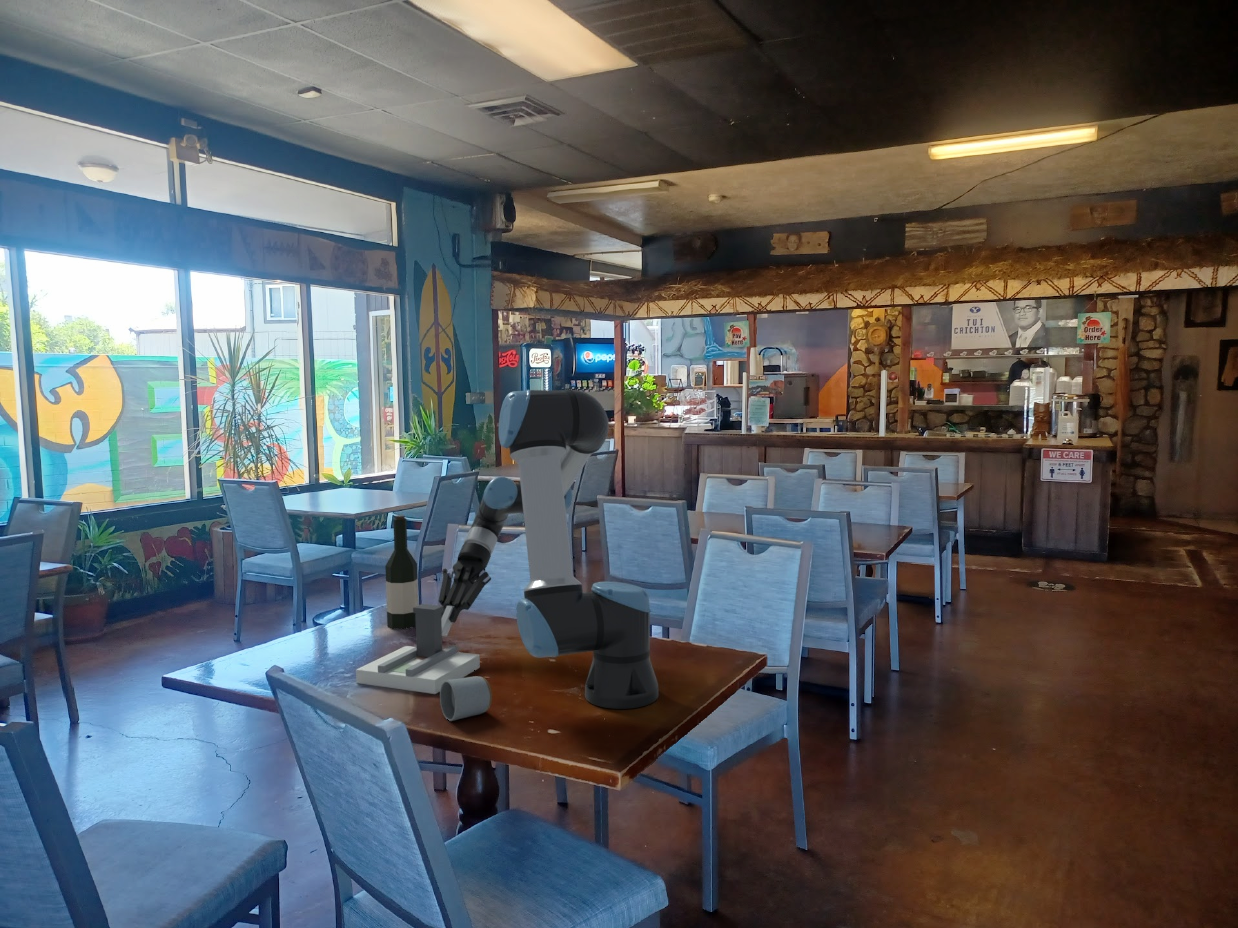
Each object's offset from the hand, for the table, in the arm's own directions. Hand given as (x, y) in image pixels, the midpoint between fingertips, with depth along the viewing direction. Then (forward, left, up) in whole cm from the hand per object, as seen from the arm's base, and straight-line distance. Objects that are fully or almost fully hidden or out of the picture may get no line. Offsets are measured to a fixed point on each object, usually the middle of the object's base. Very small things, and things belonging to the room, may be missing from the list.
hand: (441, 632), depth 192 cm
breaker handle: (0, +5, -4) cm, 6 cm away
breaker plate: (0, +9, -7) cm, 12 cm away
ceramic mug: (-21, +25, -7) cm, 34 cm away
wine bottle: (+28, -24, -7) cm, 37 cm away
